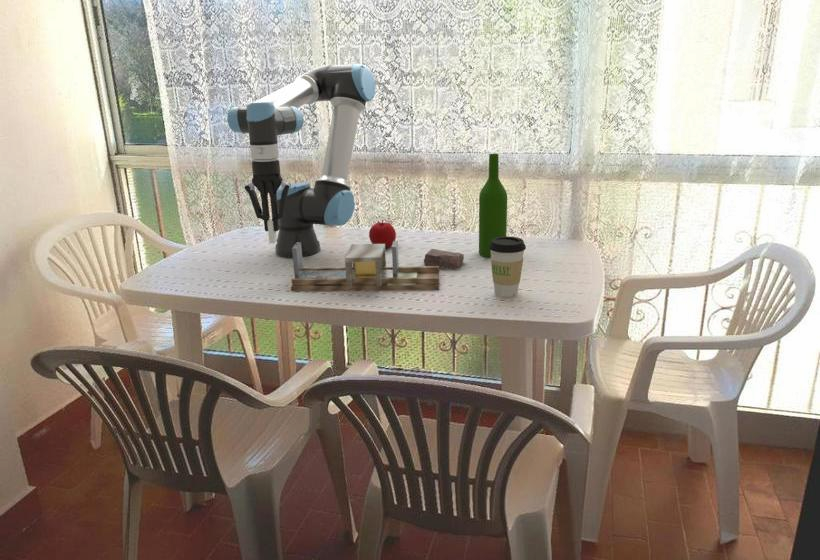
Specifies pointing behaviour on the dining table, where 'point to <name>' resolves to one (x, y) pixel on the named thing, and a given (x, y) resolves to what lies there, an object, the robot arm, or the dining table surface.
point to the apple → (382, 234)
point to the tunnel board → (371, 253)
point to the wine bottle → (492, 208)
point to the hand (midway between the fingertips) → (273, 242)
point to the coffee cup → (506, 264)
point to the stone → (443, 259)
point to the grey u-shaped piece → (360, 270)
